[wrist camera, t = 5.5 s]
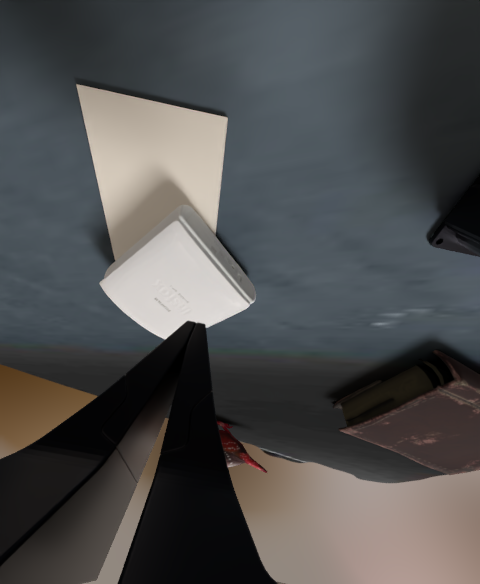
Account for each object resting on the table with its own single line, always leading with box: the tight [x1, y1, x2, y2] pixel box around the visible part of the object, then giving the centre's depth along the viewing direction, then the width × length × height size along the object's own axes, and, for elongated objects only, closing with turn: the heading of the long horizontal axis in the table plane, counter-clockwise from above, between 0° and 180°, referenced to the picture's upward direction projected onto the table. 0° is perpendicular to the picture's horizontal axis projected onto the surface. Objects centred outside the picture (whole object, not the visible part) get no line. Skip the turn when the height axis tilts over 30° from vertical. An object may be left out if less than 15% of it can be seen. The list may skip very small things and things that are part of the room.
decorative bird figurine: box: [217, 421, 267, 473], centre depth 40 cm, size 3×18×10 cm, turn 64°
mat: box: [76, 84, 228, 261], centre depth 18 cm, size 10×16×1 cm, turn 170°
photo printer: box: [99, 205, 256, 339], centre depth 20 cm, size 10×4×12 cm
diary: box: [333, 350, 480, 475], centre depth 31 cm, size 19×25×5 cm
